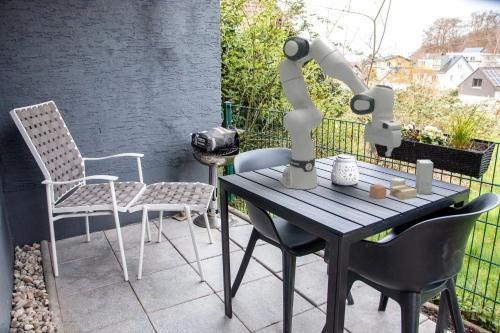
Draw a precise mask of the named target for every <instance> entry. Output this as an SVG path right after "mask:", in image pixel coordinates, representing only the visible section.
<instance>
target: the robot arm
mask: <svg viewBox="0 0 500 333" xmlns="http://www.w3.org/2000/svg"><path fill="white" fill-rule="evenodd" d="M282 51H283V52H282V53H283V56H285V58H284V59H282V60H281V61H280V63H279V64H278V74H279V80H280V83H281V87H282V91H283V94H284V98H285V99H286V101H287V102H288V103H289V104H290V106H291V107H292V110H290V111H288V112H287V113H285V115H284V116H283V120H282V123H283V127H284V128H285V130H286V131H287V132H288V134H289V138H290V141H291V157H290V158H289V161H290V162H289V165H288V166H287V167H286V168H285V169H284V170H283V172H282V177H280V178H278V181H279V183H280V184H281V185H282V186H283V187H285V188H286V189H296V190H311V189H315V188H317V186H318V185H319V181H318V174H317V173H318V171H317V168H316V158H315V142H314V141H313V140H312V137H311V132H310V130H313V129H316V128H317V127H319V126H320V125H321V124H322V122H323V112H322V111H321V110H320V109H319V108H318V107H317V106H316V105H315V103H314V101H313V99H312V97H311V96H310V93H309V91H308V88H307V84H306V82H305V81H306V80H305V78H304V74H303V71H302V67H305V66H306V65H308V64H309V63H310V62H311V61H313V60H314V61H315V62H316V63H317V65H318V67H319V68H320V70H321V71H322V72H323V73H324V74H325V75H326V76H327V77H328V78H331V79H334V80H337V81H340V82H341V83H344V85H346V86H347V88H349V90H351V92H352V93H353V94H354V96H353V97H352V98H351V99H350V103H349V107H350V110H351V112H352V113H353V114H354V115H358V116H366V115H371V121H370V120H369V121H367V122H366V124H365V128H364V132H363V141H364V142H366V143H369V144H368V145H369V147H370V153H372V154H376V153H377V148H376V146H375V145H380V146H385V147H386V149H387V150H386V151H385V152H384V154H385V157H391V156H392V151H393V150H394V148H399V147H400V146H401V144H402V131H401V129H402V128H403V127H402V125H403V124H402V123H400V122H399V121H397V120H396V119H394V113H393V109H394V107H395V92H394V88H393V87H391V86H389V85H384V84H383V85H382V84H375V85H374V86H373V87H372V88H369V87H368V86H367V85H366V84H365V83H364V82H363V80H362V79H361V78H360V77H359V76H358V74H357V73H356V72H355V71H354V70H353V68H352V67H351V65H350V64H349V62H348V61H347V60H346V58H345V56H344V55H343V54H342V52H341V50H340V49H339V48H338V47H337V45H336V44H335V43H333V41H331V39H330V38H328V37H327V36H324V35H320V36H318V37H317V36H316V37H315V38H314V39H313V40H312V39H308V38H306V37H303V36H302V37H299V36H292V37H288V38H287V39H286V40H285V41H284V43H283V47H282Z"/></svg>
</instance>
